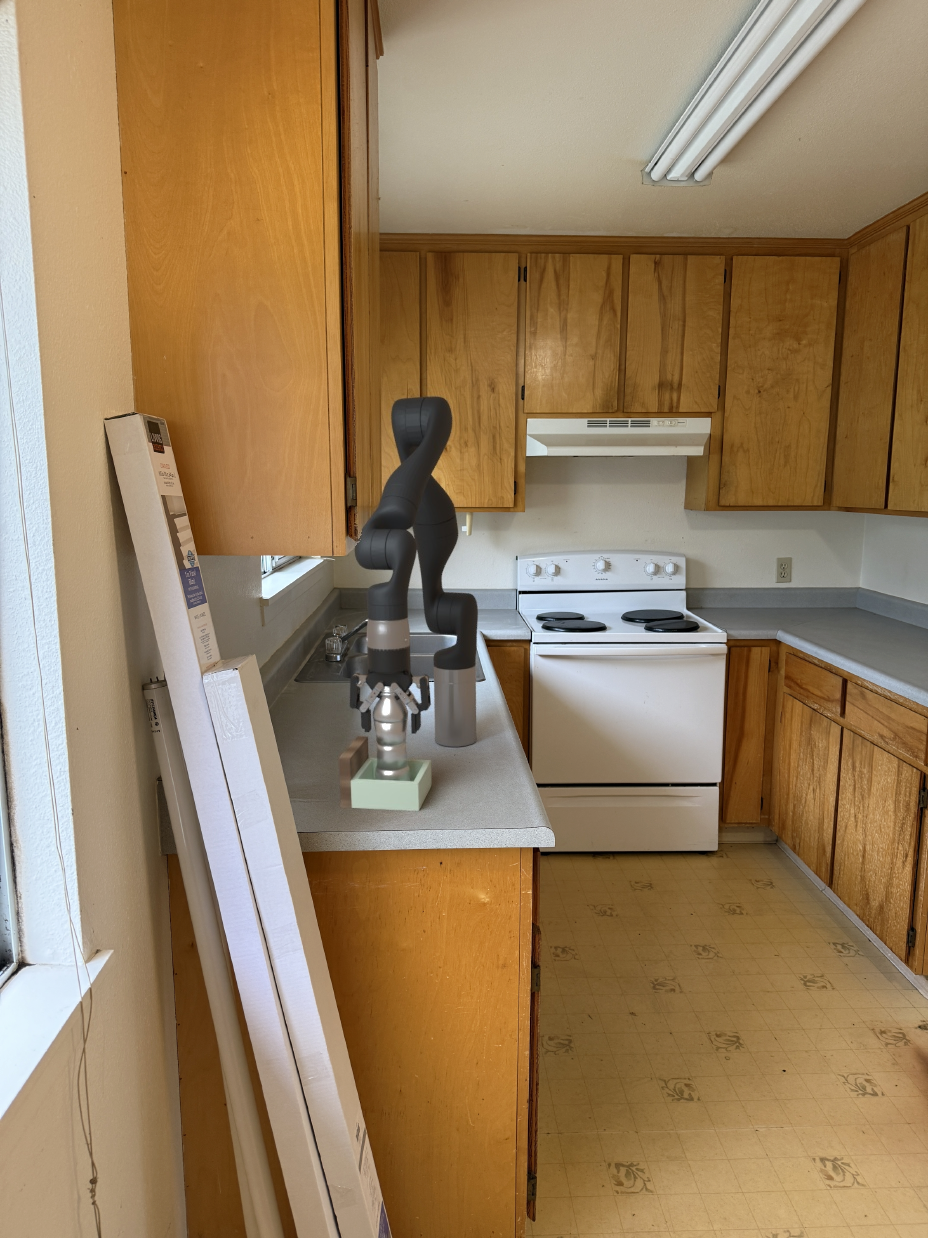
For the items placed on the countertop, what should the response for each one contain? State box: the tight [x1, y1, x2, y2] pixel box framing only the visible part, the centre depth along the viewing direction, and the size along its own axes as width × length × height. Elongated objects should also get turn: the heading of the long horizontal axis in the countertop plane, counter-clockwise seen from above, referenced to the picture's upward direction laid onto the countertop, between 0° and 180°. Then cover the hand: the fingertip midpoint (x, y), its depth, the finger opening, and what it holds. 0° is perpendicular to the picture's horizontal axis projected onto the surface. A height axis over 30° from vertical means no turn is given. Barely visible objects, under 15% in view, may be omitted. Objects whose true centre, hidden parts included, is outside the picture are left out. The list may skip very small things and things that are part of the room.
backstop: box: [338, 735, 370, 809], centre depth 147 cm, size 12×24×10 cm, turn 82°
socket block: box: [351, 757, 432, 812], centre depth 148 cm, size 12×12×5 cm
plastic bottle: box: [372, 686, 410, 781], centre depth 147 cm, size 6×7×20 cm
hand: (391, 731), depth 146 cm, fingers open, 8 cm apart
